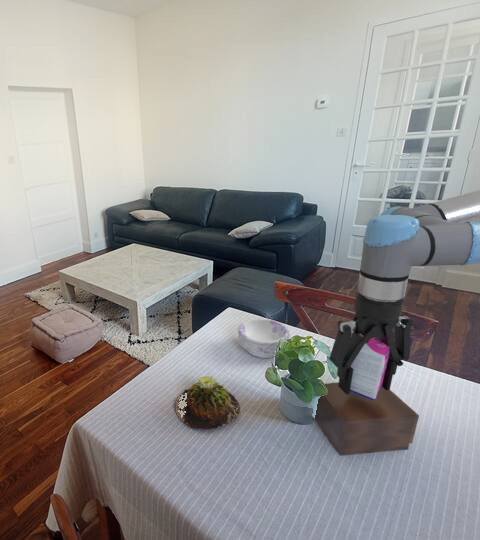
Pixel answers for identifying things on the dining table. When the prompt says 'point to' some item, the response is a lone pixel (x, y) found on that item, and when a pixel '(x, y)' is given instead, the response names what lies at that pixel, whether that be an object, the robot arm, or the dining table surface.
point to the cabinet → (364, 421)
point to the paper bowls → (262, 336)
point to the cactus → (208, 405)
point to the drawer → (415, 419)
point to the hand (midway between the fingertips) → (363, 387)
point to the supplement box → (369, 369)
